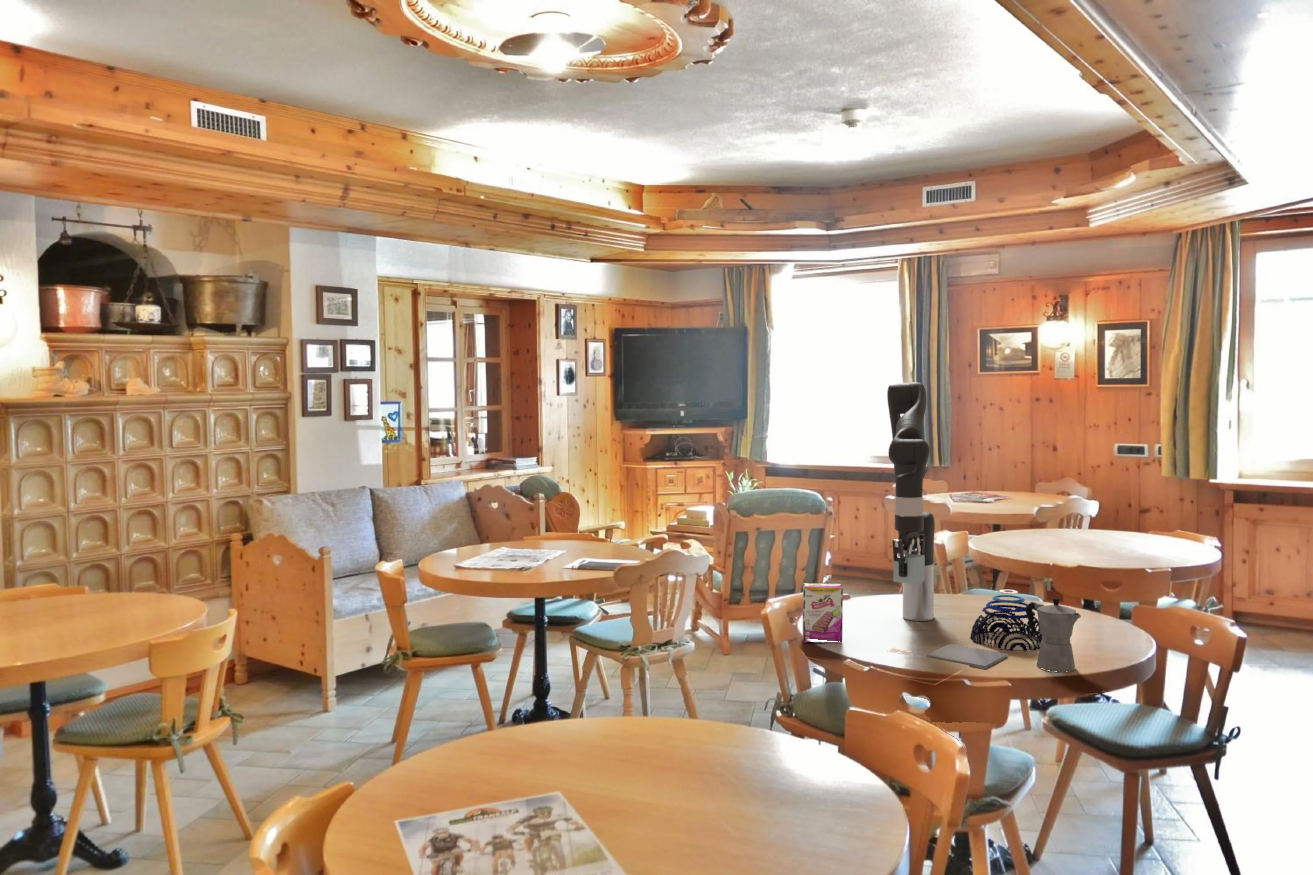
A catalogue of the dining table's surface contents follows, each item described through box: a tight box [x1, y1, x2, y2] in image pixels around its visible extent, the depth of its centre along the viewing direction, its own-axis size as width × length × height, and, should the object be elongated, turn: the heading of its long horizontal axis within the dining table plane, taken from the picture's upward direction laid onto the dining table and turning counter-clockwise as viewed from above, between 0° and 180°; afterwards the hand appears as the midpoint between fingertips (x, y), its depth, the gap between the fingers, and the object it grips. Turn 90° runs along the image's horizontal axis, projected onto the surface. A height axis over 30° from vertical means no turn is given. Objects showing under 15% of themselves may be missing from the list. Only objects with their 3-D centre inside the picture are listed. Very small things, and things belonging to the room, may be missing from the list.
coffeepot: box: [1025, 597, 1082, 673], centre depth 242 cm, size 15×9×18 cm, turn 33°
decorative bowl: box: [969, 589, 1042, 652], centre depth 267 cm, size 20×20×14 cm
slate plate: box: [926, 643, 1008, 670], centre depth 251 cm, size 14×16×1 cm
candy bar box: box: [802, 582, 844, 644], centre depth 269 cm, size 11×5×16 cm, turn 84°
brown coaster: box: [887, 647, 913, 655], centre depth 257 cm, size 14×14×1 cm
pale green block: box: [892, 554, 925, 585], centre depth 255 cm, size 6×6×7 cm
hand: (909, 574), depth 255 cm, fingers closed on pale green block, 6 cm apart
